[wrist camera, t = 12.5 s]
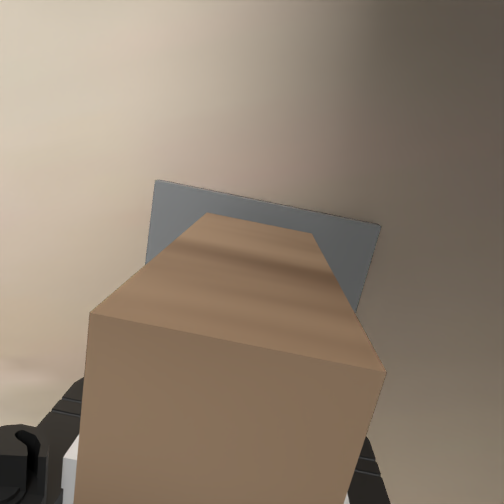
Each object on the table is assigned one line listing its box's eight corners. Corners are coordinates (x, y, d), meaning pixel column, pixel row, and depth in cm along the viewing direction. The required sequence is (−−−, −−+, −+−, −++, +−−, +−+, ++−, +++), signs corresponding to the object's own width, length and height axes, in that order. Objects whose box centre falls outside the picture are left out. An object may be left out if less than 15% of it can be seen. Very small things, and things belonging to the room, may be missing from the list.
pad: (158, 179, 13) (154, 180, 13) (378, 224, 13) (381, 226, 13) (122, 480, 17) (118, 488, 17) (291, 516, 17) (291, 524, 16)
